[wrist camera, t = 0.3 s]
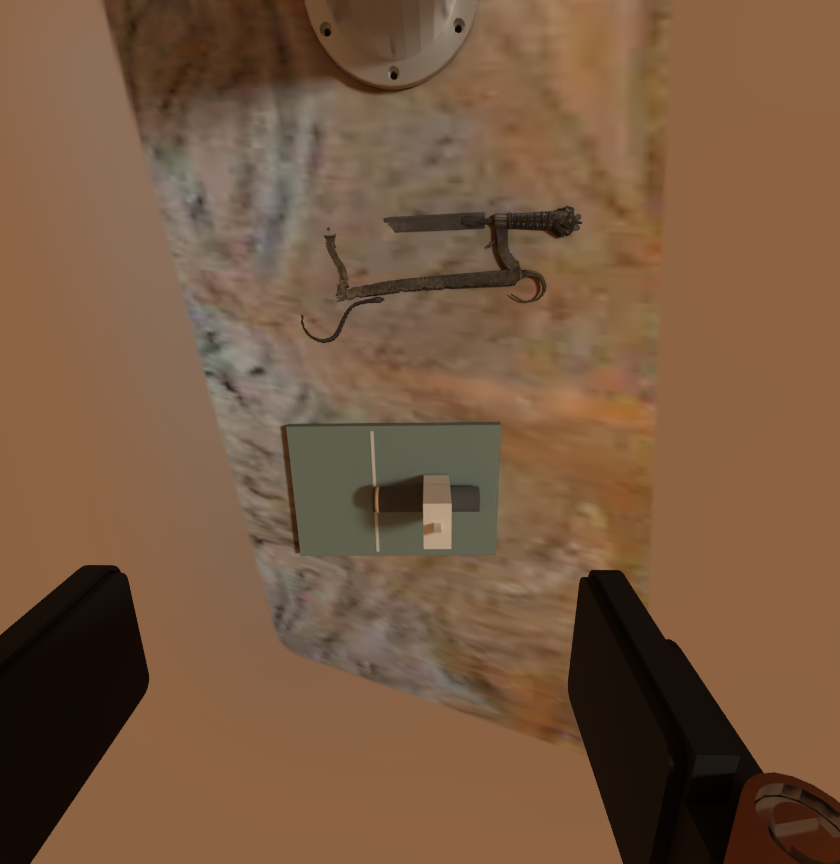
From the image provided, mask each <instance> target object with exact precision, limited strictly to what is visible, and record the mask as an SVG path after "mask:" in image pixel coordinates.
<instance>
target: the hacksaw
mask: <svg viewBox="0 0 840 864" xmlns="http://www.w3.org/2000/svg"><path fill="white" fill-rule="evenodd" d="M383 219H384V222H385V223H389V222H390V223H389V224H388V225H389V226H390V227H391V228H392V229H393V230H394V232H395V233H397V232H416V231H436V230H455V229H475V228H485V223H490V224H494V229H496V238H495V240H494V241H493V243H494V242H495V241H496V243H497V253H498V255H499V258H500V260H501V262H502V264H503V265H504V267H505V268H506V270H499V271H488V272H477V273H464V274H454V275H443V276H433V277H424V278H423V277H420V278H410V279H401V280H393V281H387V282H380V283H375V284H372V285H364V286H361V287H358V288H357V287H354V288H351V289H349V290H347V288H349V285H347V284H348V283H347V280H348V279H347V272H346V269H345V266H344V265H343V263H342V261H341V260H340V258H339V257H338V255H337V253H336V251H335V249H334V248H336V246H335V243H334V241H335V239H334V238H335V237H336V234H334V235H332V236H324V237H325V238H326V241H327V242H326V247H327V249H328V252H329V254H330V256H331V258H332V259H333V261H334V263H335V265H336V267H337V268H338V272H339V278H340V284H339V286H338V284H337V286H338V290H337V294H336V296H338V293H339V292H340V293H339V296H338V297H337V298H338V301H337V302H339V301H340V300H341V301H343V300H345V299H346V298H347V300H351V299H354V298H356V297H360V298H362V297H368V296H378V295H386V294H393V293H396V292H397V293H399V292H400V291H404V292H408V291H421V290H436V289H440V290H443V289H444V288H451V289H455V288H460V289H461V288H473V287H498V286H512V285H513V286H514V285H515V284H516V283H517V282H518V281H519V280H520V279H522V278H524V277H525V278H527V276H531V277H535V278H537V279H538V280H539V281H540V282H541V284H542V293H541V295H540V296H539V297H538V298H536V299H534V300H530V301H524V300H521V299H519V298H518V297H516V296H514V295H512V294H511V295H512V296H513V297H515V298H516V299H518V300H520V301H521V302H525V303H526V302H534V301H537V300H539V299H540V298H541V297H542V296H543V295H544V293H545V291H546V284H545V280H544V278H543V276H542V275H541V274H540V273H538V272H536V271H531V270H521V269H520V267H519V262H518V261H517V260H515V259H514V258H513V256H512V254H510V252H509V248H508V231H507V229H511V228H519V229H538V230H543V229H544V230H549V231H551V232H553V233H554V234H555V235H557V236H558V237H561V238H562V237H564V236H565V235H566V236H568V235H570V234H571V233H572V230H573V228H574V229H575V231H577V230H579V229H580V227H579V225H577V224H582V222H579V221H578V220H580V219H581V215H580V214H577V215H576V217H575V215H574V208H573V207H569V206H566V207H564V208H563V209H562V210H557V211H549V212H535V213H515V214H512V213H508V214H494V218H487V219H486V218H485V212H484V213H483V212H481V213H480V212H479V213H466V214H465V213H463V214H462V213H461V214H459V213H458V214H457V213H456V214H445V215H444V214H443V215H442V214H441V215H439V214H438V215H430V216H429V215H427V216H426V215H425V216H424V215H423V216H421V215H420V216H407V217H406V216H405V217H401V216H400V217H390V218H389V217H388V218H383ZM327 230H328V231H329V230H330V228H329V227H328V229H327ZM329 243H330V244H329ZM493 243H492V244H493ZM492 244H491V245H489V246H488V248H490V247H491V246H492ZM341 291H342V292H341ZM340 295H341V296H340ZM336 296H335V297H336ZM383 300H384V298H381V297H376V298H372V299H366V300H363V301H359V302H355V303H354V304H353V305H351V306H350V307H349V308H348V309H347V311H346V312H345V313H344V316H343V317H342V320H341V322H340V324H339V326H338V329H337V331H336V333H335V334H334V335H333V336H332V337H330V338H327V339H318V338H315V337H313V336H311V335H310V334H309V333H308V331H307V330H306V329H305V328H304V323H303V315H301V318H302V320H301V324H302V327H303V329H304V331H305V332H306V334H307V335H308V336H309V337H310V338H312V339H314V340H316V341H318V342H322V343H326V342H331V341H333V340H335V338H337V337H338V336H339V333H340V332H341V329H342V327H343V324H344V323H345V319H346V318H347V315H348V314H349V311H351V310H352V308H354V307H355V306H358V305H360V304H365V303H380V302H382V301H383ZM341 301H340V302H341Z"/></svg>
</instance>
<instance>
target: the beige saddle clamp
mask: <svg viewBox="0 0 840 864" xmlns="http://www.w3.org/2000/svg"><path fill="white" fill-rule="evenodd" d="M451 527H452V502H451V491H450V481H449V475H424V485H423V536H424V549H451Z"/></svg>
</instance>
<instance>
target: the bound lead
mask: <svg viewBox="0 0 840 864" xmlns="http://www.w3.org/2000/svg"><path fill="white" fill-rule="evenodd" d="M450 491H451V502H452V512H479V511H480V491H479V486H452V487H450ZM372 508H373V512H376V513H380V512H423V487H380V486H376V487H373V493H372Z"/></svg>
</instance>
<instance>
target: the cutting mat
mask: <svg viewBox="0 0 840 864" xmlns="http://www.w3.org/2000/svg"><path fill="white" fill-rule="evenodd" d="M286 430H287V439H288V448H289V457H290V465H291V474H292V483H293V492H294V501H295V510H296V519H297V528H298V537H299V545H300V554H301V556H398V555H496V535H497V510H498V486H499V462H500V437H501V424H500V422H470V423H363V424H288V425H287V427H286ZM424 475H449V481H450V487H452V486H479V491H480V511H479V512H452V527H451V549H424V536H423V512H380V513H376V512H373V508H372V493H373V487H376V486H380V487H423V485H424Z"/></svg>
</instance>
